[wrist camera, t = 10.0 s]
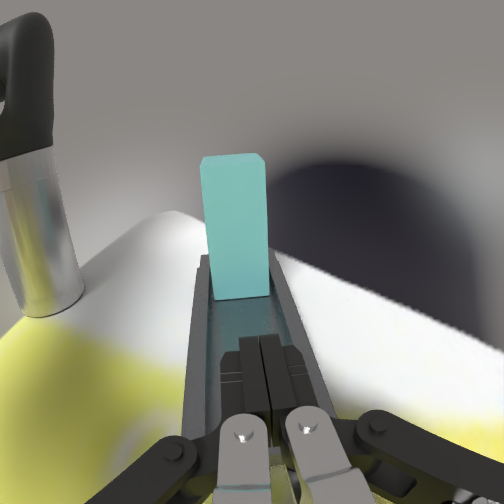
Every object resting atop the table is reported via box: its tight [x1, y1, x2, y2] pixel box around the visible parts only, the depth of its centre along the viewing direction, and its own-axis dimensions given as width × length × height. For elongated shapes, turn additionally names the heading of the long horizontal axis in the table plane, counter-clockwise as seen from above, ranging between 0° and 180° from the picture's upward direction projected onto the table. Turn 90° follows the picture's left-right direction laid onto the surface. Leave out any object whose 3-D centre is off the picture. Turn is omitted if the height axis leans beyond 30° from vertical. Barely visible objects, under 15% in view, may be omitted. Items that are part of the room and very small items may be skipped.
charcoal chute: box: [181, 249, 337, 466], centre depth 24 cm, size 23×9×3 cm, turn 5°
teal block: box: [200, 153, 269, 300], centre depth 29 cm, size 6×5×12 cm
